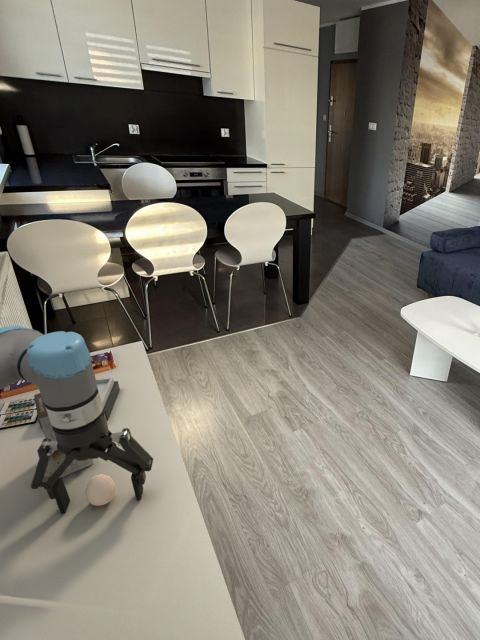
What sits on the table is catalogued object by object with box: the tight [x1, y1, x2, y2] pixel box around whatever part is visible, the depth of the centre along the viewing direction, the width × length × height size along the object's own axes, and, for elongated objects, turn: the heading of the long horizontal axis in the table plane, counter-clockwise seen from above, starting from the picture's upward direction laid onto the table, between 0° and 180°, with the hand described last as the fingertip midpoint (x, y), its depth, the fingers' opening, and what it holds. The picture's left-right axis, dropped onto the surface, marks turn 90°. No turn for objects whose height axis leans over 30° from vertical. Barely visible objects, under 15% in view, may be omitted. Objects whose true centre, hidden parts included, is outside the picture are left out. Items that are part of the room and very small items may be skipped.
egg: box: [84, 473, 116, 507], centre depth 77 cm, size 5×5×7 cm
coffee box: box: [33, 392, 94, 478], centre depth 83 cm, size 9×6×16 cm
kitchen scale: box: [37, 377, 121, 429], centre depth 99 cm, size 14×12×5 cm
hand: (103, 500), depth 78 cm, fingers open, 12 cm apart
